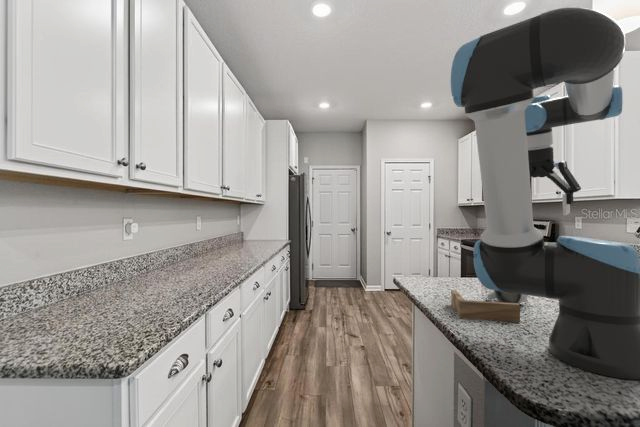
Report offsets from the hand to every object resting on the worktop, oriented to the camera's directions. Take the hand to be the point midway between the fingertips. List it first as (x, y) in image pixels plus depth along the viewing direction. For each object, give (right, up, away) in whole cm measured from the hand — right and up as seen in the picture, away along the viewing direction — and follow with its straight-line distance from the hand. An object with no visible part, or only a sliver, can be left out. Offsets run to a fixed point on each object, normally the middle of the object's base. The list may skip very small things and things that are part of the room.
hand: (541, 212), depth 98 cm
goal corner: (-25, -29, -10) cm, 40 cm away
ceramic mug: (-14, -29, -4) cm, 32 cm away
